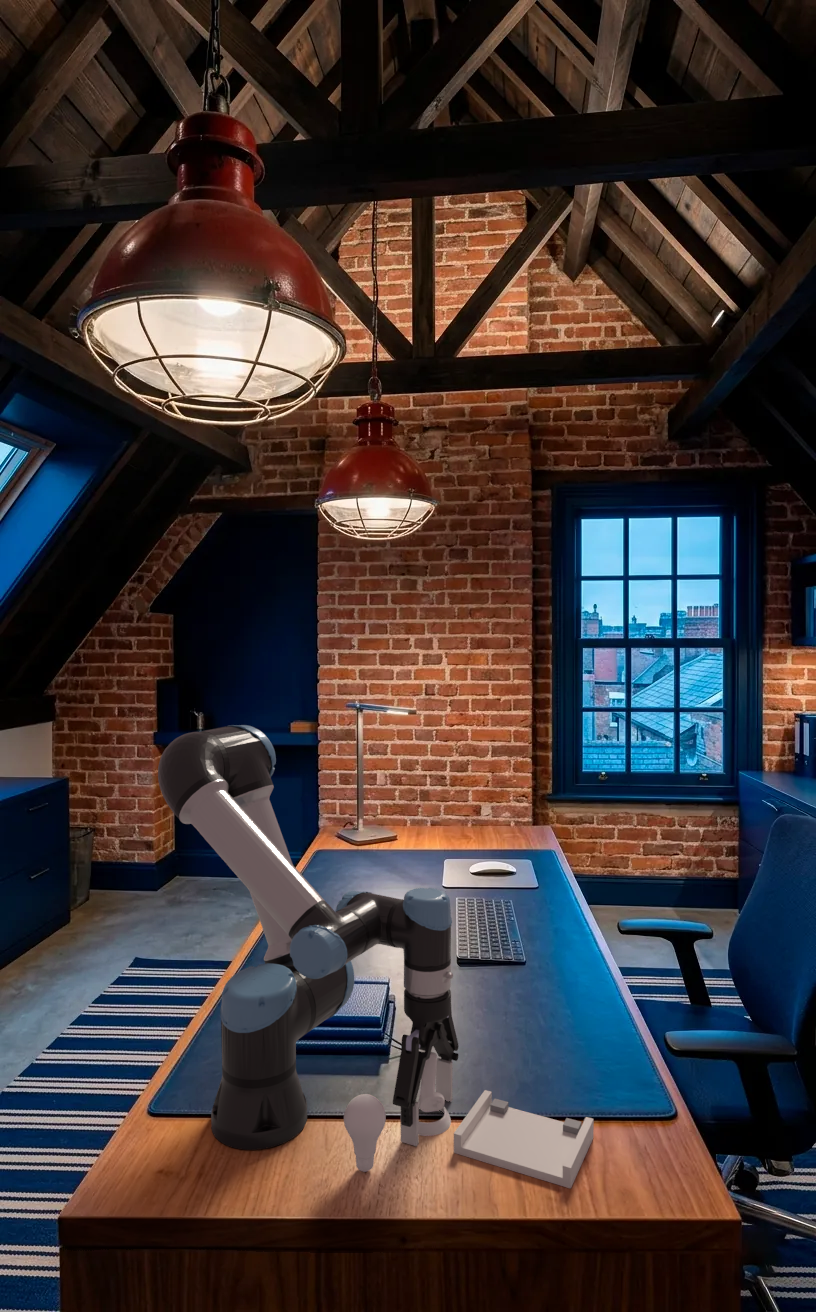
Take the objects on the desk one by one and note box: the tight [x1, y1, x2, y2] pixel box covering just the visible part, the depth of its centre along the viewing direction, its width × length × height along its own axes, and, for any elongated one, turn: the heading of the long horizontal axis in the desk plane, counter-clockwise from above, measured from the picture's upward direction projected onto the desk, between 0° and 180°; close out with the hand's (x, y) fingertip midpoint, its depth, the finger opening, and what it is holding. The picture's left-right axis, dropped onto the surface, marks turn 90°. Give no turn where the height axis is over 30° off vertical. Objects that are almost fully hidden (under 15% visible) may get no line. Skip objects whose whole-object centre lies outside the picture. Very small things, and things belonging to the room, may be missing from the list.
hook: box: [417, 1051, 452, 1137], centre depth 137 cm, size 8×12×7 cm
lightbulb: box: [343, 1093, 387, 1173], centre depth 123 cm, size 6×6×11 cm
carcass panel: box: [453, 1089, 595, 1189], centre depth 129 cm, size 18×13×3 cm
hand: (427, 1120), depth 135 cm, fingers open, 12 cm apart
